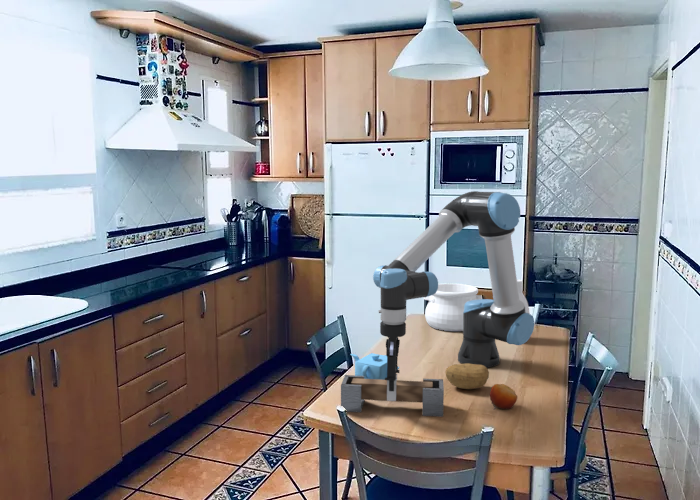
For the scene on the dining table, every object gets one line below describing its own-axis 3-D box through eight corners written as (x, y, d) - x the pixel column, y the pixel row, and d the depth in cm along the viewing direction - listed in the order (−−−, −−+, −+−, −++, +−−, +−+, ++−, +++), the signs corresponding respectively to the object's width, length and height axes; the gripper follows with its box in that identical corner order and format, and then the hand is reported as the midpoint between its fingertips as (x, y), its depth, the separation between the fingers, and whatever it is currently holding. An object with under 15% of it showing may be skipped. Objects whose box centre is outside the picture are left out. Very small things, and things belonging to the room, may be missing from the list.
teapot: (386, 401, 184) (387, 365, 183) (338, 389, 194) (337, 356, 192) (409, 385, 198) (409, 352, 196) (363, 375, 207) (363, 343, 205)
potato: (444, 381, 201) (445, 358, 199) (487, 384, 198) (488, 361, 197) (444, 392, 191) (445, 368, 190) (489, 395, 189) (490, 371, 188)
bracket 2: (442, 404, 181) (443, 379, 180) (443, 416, 173) (443, 390, 172) (422, 403, 182) (423, 378, 181) (422, 415, 173) (422, 389, 172)
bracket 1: (340, 411, 177) (340, 385, 175) (345, 399, 185) (345, 374, 184) (361, 412, 176) (361, 386, 175) (364, 400, 185) (364, 375, 184)
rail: (432, 397, 179) (432, 381, 178) (432, 403, 175) (432, 386, 174) (353, 393, 182) (353, 378, 181) (351, 398, 178) (351, 382, 178)
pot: (422, 331, 261) (422, 292, 258) (424, 317, 285) (424, 281, 282) (482, 334, 256) (484, 294, 254) (480, 320, 280) (481, 283, 278)
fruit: (480, 397, 183) (493, 376, 182) (501, 409, 184) (514, 388, 183) (488, 408, 175) (502, 385, 174) (510, 420, 176) (524, 398, 175)
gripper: (382, 314, 184) (381, 386, 187) (377, 328, 167) (376, 408, 171) (407, 314, 183) (405, 387, 186) (404, 329, 166) (403, 409, 170)
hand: (391, 397), depth 179 cm, fingers closed on rail, 4 cm apart
